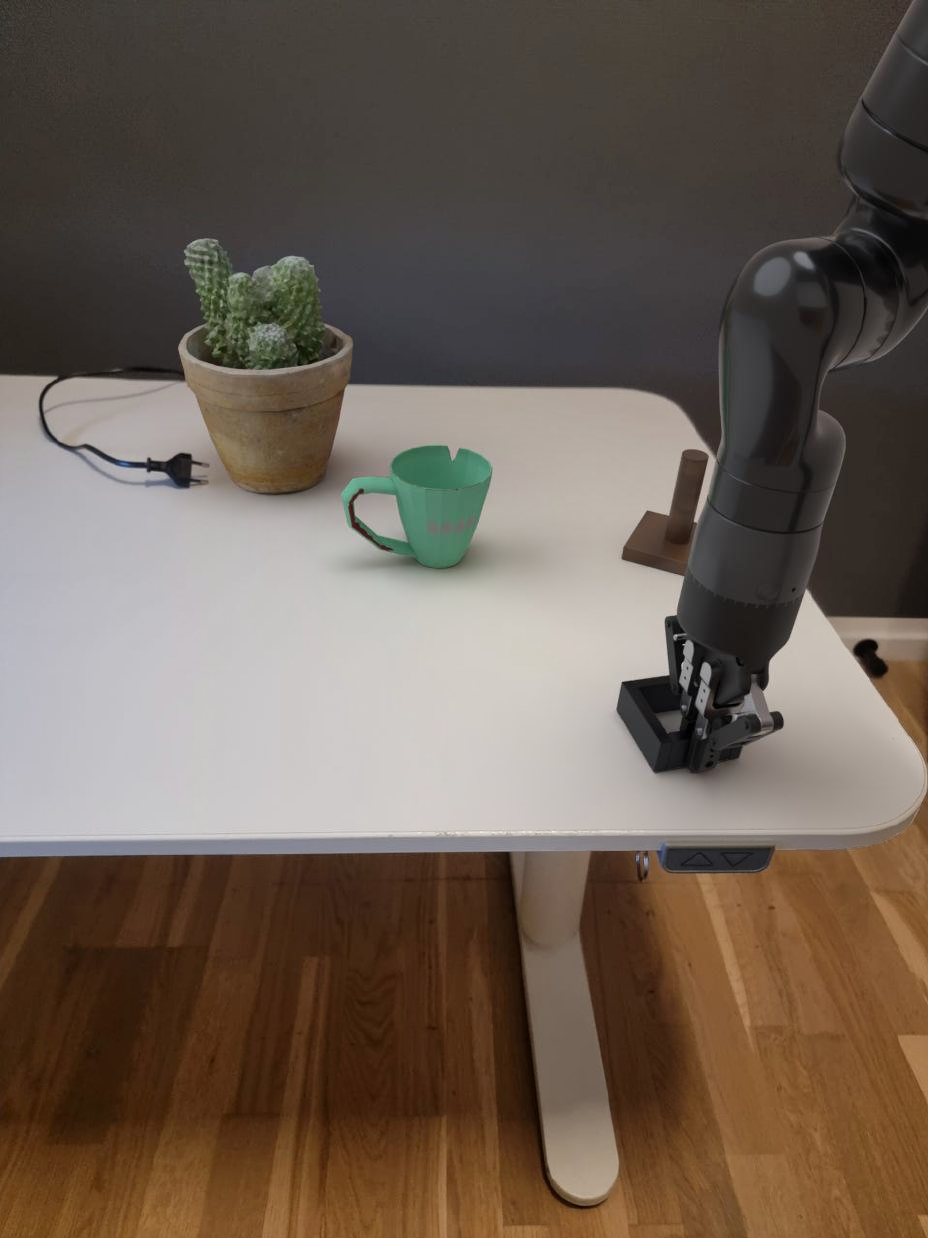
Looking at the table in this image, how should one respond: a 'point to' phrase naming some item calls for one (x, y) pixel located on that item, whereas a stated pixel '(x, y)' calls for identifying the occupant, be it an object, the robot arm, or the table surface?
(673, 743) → the ring
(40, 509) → the table surface
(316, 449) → the potted plant
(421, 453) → the mug
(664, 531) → the post
